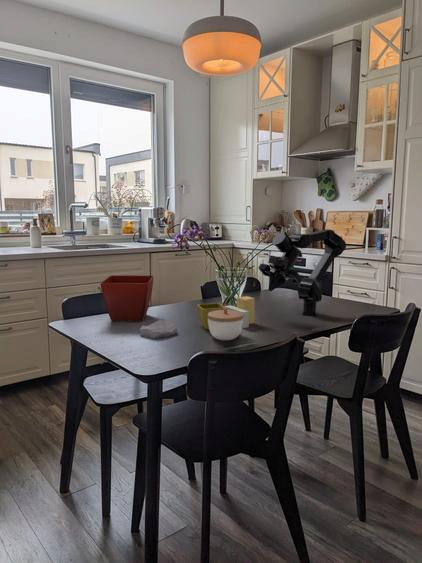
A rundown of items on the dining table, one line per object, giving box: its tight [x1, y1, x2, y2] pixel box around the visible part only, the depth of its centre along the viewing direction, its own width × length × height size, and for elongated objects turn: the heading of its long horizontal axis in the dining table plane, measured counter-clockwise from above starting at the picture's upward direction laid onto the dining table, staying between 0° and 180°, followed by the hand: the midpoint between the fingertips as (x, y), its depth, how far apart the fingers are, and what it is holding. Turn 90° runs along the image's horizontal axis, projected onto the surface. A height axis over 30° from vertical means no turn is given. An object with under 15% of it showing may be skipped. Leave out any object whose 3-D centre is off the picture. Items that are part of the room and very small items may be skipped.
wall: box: [224, 305, 250, 329], centre depth 172 cm, size 3×12×6 cm, turn 32°
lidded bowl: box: [208, 308, 243, 341], centre depth 156 cm, size 13×13×11 cm
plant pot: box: [100, 274, 154, 323], centre depth 184 cm, size 19×19×17 cm
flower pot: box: [196, 302, 225, 330], centre depth 169 cm, size 9×9×9 cm
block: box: [236, 296, 255, 325], centre depth 173 cm, size 8×5×10 cm, turn 122°
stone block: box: [139, 319, 178, 339], centre depth 162 cm, size 12×5×10 cm
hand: (269, 290), depth 176 cm, fingers closed
